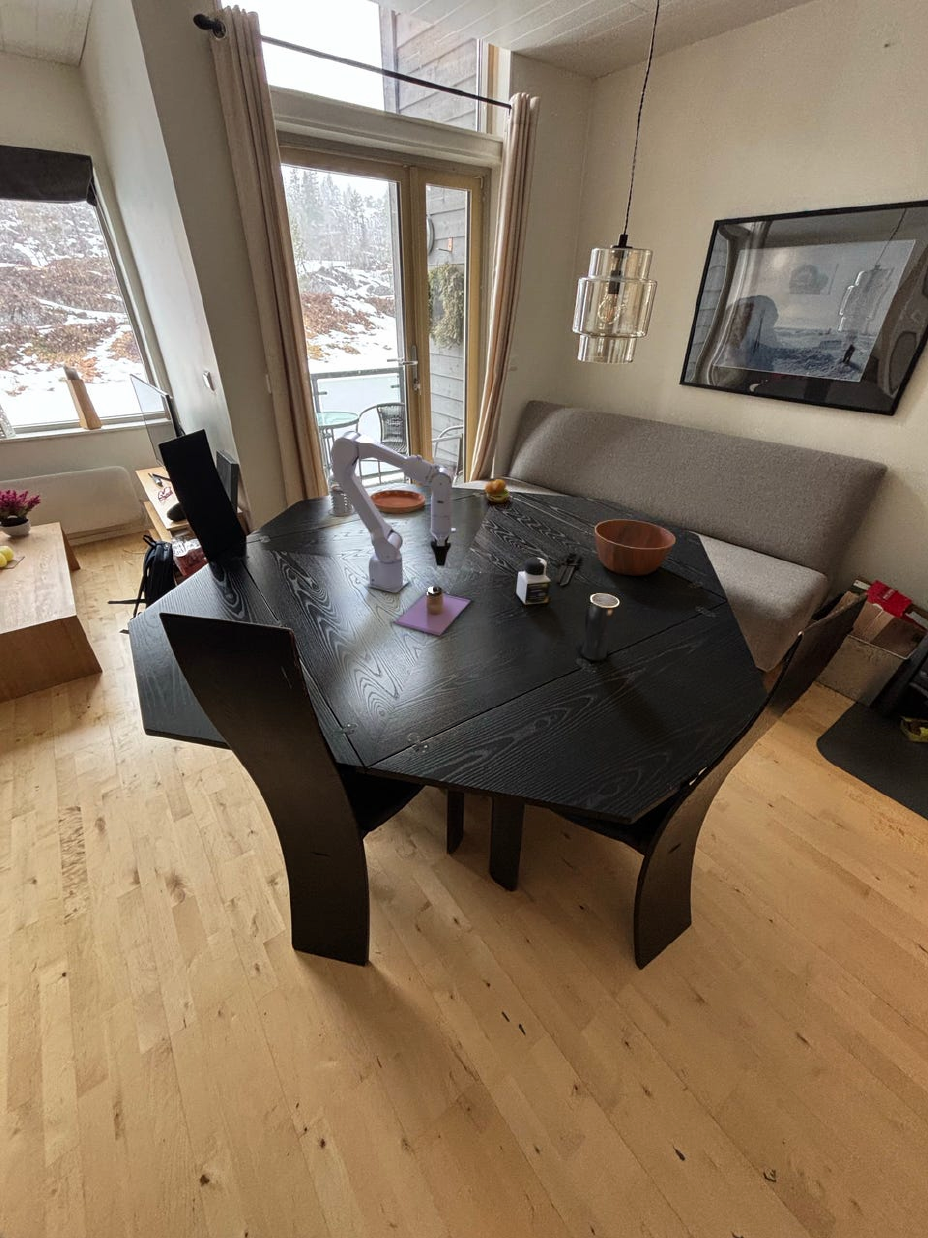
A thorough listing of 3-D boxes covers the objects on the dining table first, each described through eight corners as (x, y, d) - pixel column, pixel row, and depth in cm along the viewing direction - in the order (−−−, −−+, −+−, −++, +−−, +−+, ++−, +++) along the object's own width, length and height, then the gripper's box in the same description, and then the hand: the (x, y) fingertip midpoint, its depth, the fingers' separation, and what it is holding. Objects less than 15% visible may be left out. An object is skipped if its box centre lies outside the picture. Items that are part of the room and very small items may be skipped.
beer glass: (587, 642, 126) (597, 589, 118) (613, 653, 122) (625, 599, 114) (574, 654, 121) (583, 600, 113) (600, 665, 118) (612, 611, 110)
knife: (564, 588, 151) (565, 584, 150) (544, 583, 153) (544, 579, 152) (584, 557, 170) (585, 554, 169) (566, 553, 172) (567, 550, 172)
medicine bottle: (524, 605, 141) (529, 566, 135) (515, 593, 147) (519, 555, 140) (547, 602, 143) (553, 564, 136) (538, 591, 149) (543, 553, 142)
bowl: (574, 563, 166) (579, 531, 160) (614, 544, 181) (620, 514, 175) (643, 591, 151) (651, 556, 145) (680, 567, 166) (689, 535, 160)
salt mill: (423, 612, 135) (423, 588, 131) (431, 605, 138) (431, 581, 134) (438, 616, 133) (438, 592, 130) (445, 609, 137) (445, 585, 133)
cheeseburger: (515, 501, 218) (513, 479, 212) (495, 510, 215) (492, 488, 208) (502, 494, 225) (499, 473, 219) (482, 502, 222) (479, 482, 216)
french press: (347, 506, 206) (341, 443, 193) (361, 514, 199) (356, 449, 186) (325, 510, 201) (318, 446, 188) (339, 519, 193) (332, 452, 180)
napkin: (394, 623, 130) (394, 622, 130) (429, 591, 146) (429, 590, 146) (439, 636, 126) (439, 634, 126) (470, 601, 142) (470, 600, 142)
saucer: (404, 494, 222) (404, 486, 220) (435, 508, 207) (436, 499, 206) (359, 503, 209) (358, 495, 207) (389, 519, 195) (389, 510, 193)
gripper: (456, 523, 130) (455, 570, 137) (455, 505, 142) (454, 549, 149) (429, 523, 129) (429, 570, 137) (431, 504, 142) (431, 548, 149)
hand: (440, 559), depth 143 cm, fingers open, 7 cm apart
